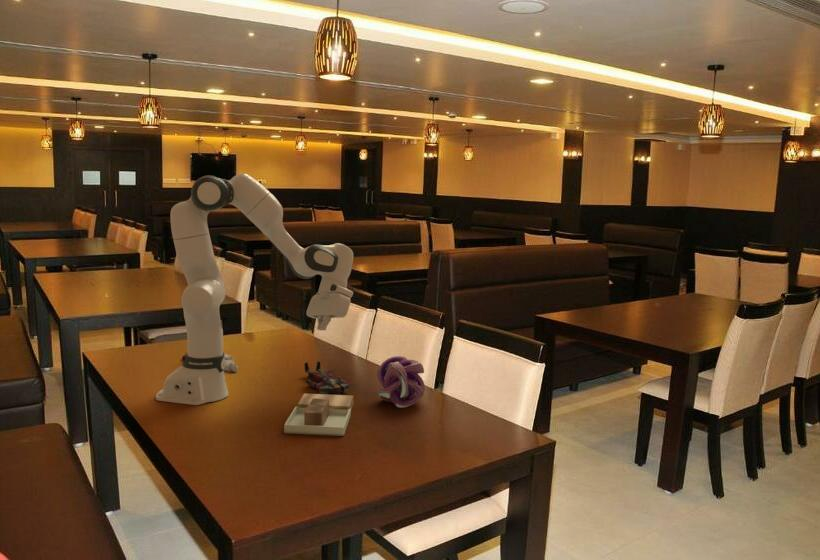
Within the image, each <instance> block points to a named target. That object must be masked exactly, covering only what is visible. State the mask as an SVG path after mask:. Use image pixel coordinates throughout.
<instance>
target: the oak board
mask: <svg viewBox="0 0 820 560" xmlns="http://www.w3.org/2000/svg"><path fill="white" fill-rule="evenodd" d="M313 398H314V399H329V409H344V410H349V409H351V411H352V409H353V406H354V395H347V394H346V395H345V394H340V395H336V394H329V395H328V394H321V393H304V394H303V395H302V397H301V398H300V400H299V401H298V403H297V407H300V408H307V407H308V406H309V404H310V403H311V401H312V399H313Z"/></svg>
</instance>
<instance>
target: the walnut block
mask: <svg viewBox="0 0 820 560" xmlns="http://www.w3.org/2000/svg"><path fill="white" fill-rule="evenodd" d="M328 416H329V399H314V398H313V399H312V401H311V403H310V404H309V406H308V407H307V409H306V411H305V412H304V425H313V426H324V424H325V422H326V420H327V418H328Z"/></svg>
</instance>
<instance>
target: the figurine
mask: <svg viewBox="0 0 820 560" xmlns="http://www.w3.org/2000/svg"><path fill="white" fill-rule="evenodd" d="M315 367H316V368H315V371H313V370H310V367H309V363H308V362H305V363H304V371H305V373H306V374H308V376H307V380H306V384H308V385H310V386H311V387H312V388H314V390H315V391H316V392H317V394H327V395H330V394H333V395H341V394H342V393H344V392H346V391H347V390H348V389H349V388H350V385H349V383H348V382H347V381H346V380H344V379H343V377H342V375H341V376H339V375H337V377H338V378H335V376H336V374H335V371H334V370H333V369H327V370H325V371H324V370H322V369H321V361H317V362H316V366H315Z"/></svg>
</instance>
